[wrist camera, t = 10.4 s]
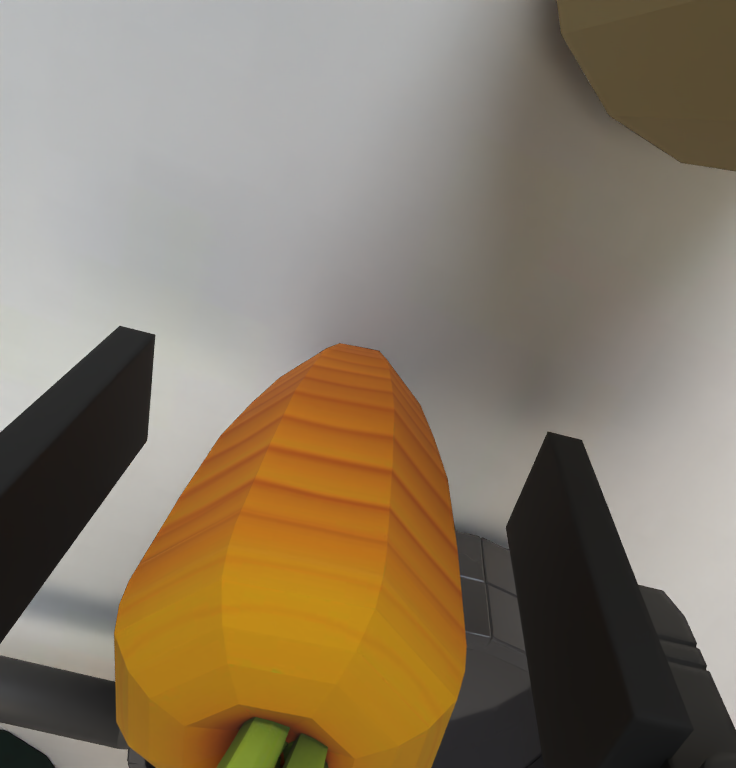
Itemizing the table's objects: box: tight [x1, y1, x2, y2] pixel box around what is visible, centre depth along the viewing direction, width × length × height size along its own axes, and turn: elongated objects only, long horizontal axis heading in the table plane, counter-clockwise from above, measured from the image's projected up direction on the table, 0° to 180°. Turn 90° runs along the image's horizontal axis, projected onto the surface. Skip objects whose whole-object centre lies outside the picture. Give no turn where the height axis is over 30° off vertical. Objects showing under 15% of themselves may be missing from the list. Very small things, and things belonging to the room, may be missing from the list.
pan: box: [127, 531, 544, 768], centre depth 22 cm, size 16×16×4 cm
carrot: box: [114, 343, 467, 768], centre depth 11 cm, size 5×5×15 cm
